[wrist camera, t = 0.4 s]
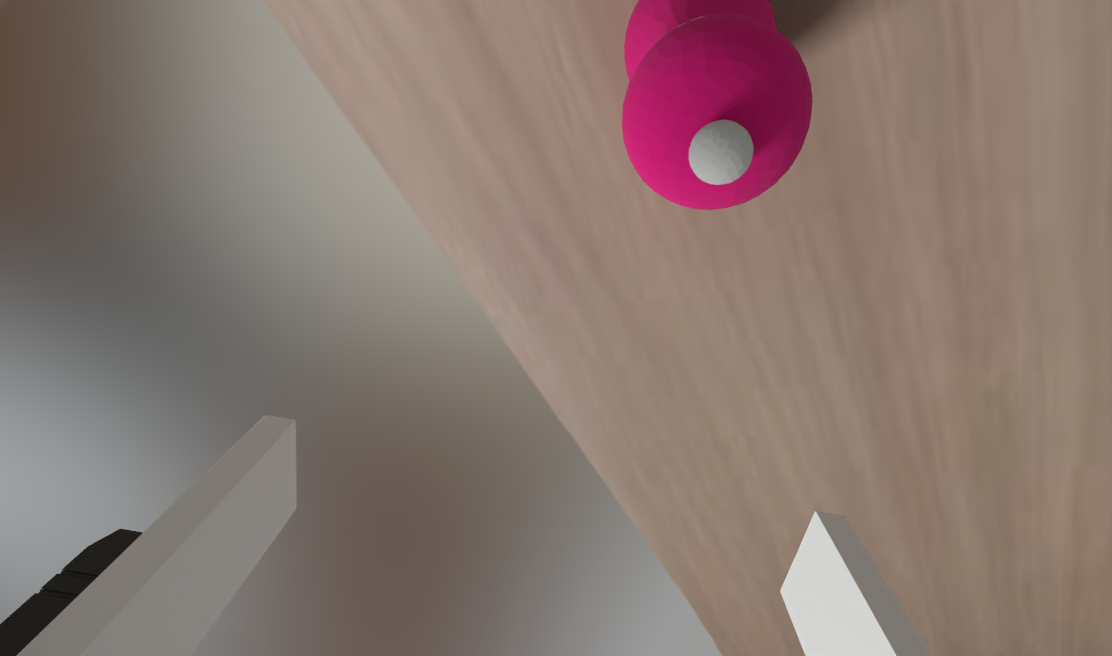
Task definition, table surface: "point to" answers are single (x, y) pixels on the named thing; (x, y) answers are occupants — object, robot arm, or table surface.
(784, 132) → the pepper mill
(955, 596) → the table surface
